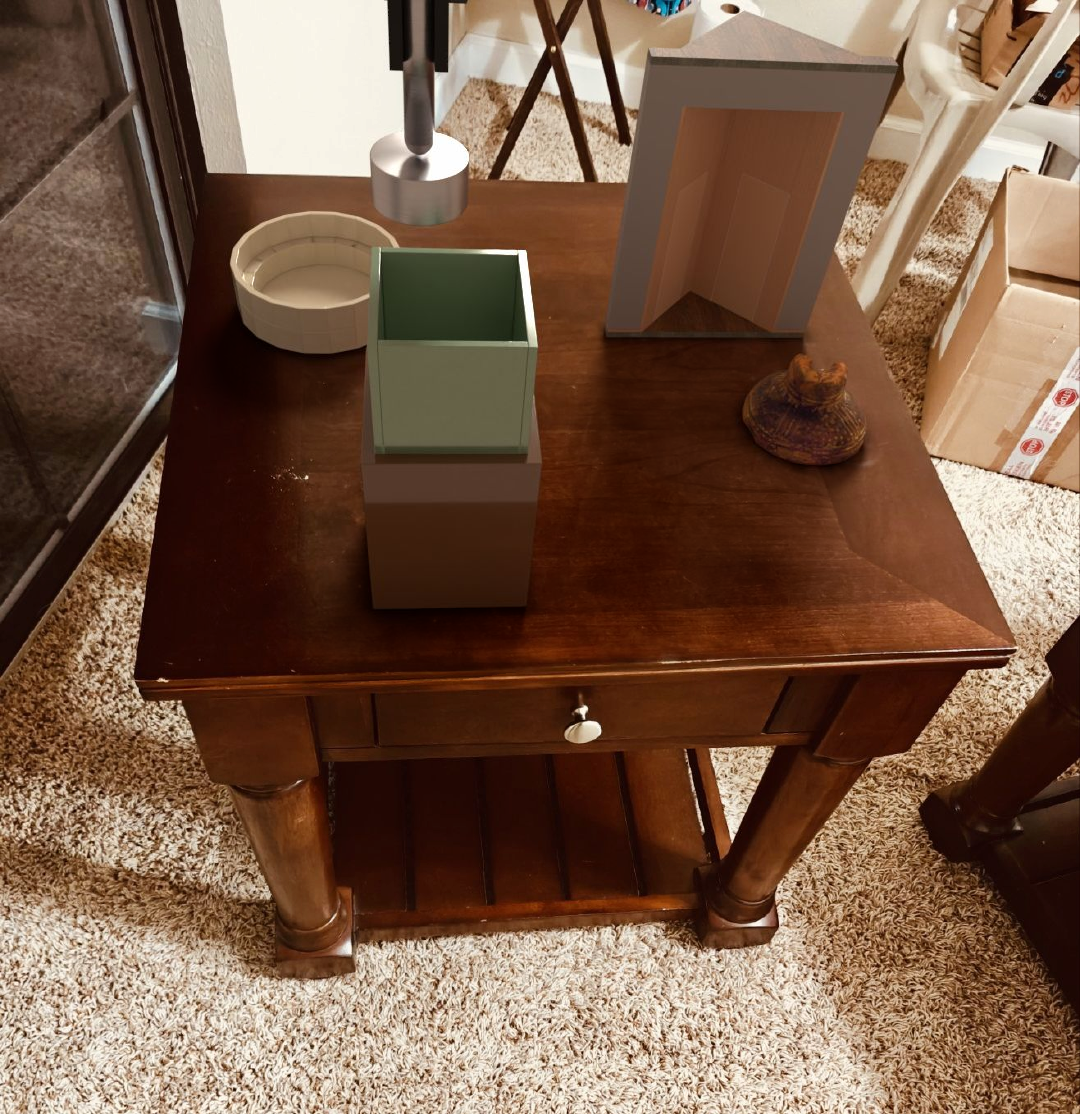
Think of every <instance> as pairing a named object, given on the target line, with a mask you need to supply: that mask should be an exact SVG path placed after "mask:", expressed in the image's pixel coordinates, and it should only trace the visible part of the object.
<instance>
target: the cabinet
mask: <svg viewBox="0 0 1080 1114" xmlns="http://www.w3.org/2000/svg"><path fill="white" fill-rule="evenodd" d="M645 60H646V61H645V67H644V73H643V79H642V84H641V93H640V99H639V104H638V110H637V111H638V112H637V117H636V124H635V130H634V138H633V142H632V150H631V155H630V161H629V168H628V175H627V181H626V187H625V193H624V199H623V207H622V212H621V219H620V224H619V226H620V227H619V232H618V237H617V244H616V251H615V257H614V264H613V268H612V269H613V270H612V276H611V283H610V288H609V296H608V301H607V309H606V314H605V315H606V316H605V320H604V327H603V328H604V332H605V336H606V338H730V339H731V338H735V339H736V338H741V339H742V338H743V339H744V338H746V339H747V338H752V339H753V338H757V339H759V338H760V339H761V338H765V339H766V338H771V339H774V338H776V339H777V338H778V339H779V338H780V339H782V338H783V339H784V338H785V339H788V338H789V339H803V338H804V336H805V333H806V330H807V328H808V325H809V323H810V319H811V317H812V314H813V311H814V308H815V306H816V302H817V299H818V296H819V294H820V291H821V289H822V286H823V283H824V279H825V277H826V274H827V272H828V269H829V265H830V263H831V260H832V257H833V254H834V251H835V248H836V245H837V244H838V243H837V242H838V239H839V237H840V234H841V231H842V228H843V226H844V224H845V220H846V217H847V214H848V211H849V208H850V205H851V203H852V199H853V197H854V194H855V192H856V189H857V185H858V183H859V179H860V177H861V175H862V171H863V169H864V166H865V162H866V160H867V158H868V155H869V151H870V148H871V145H872V143H873V139H874V137H875V135H876V131H877V129H878V125H879V123H880V120H881V117H882V114H883V111H884V109H885V107H886V106H885V105H886V102H887V99H888V97H889V94H890V91H891V89H892V86H893V83H894V81H895V80H894V79H895V77H896V74H897V71H898V68H899V64H898V62H897V61H896V60H895V58H894V57H893V56H881V55H880V56H879V55H877V56H876V55H862V54H859V53H857V52H854V51H851V50H849V49H846V48H843V47H841V46H838V45H835V44H832V43H831V42H828V41H826V40H823V39H820V38H817V37H815V36H812V35H809V34H807V33H804V32H802V31H799V30H796V29H794V28H791V27H789V26H787V25H783V24H781V23H778V22H776V21H773V20H770V19H768V18H765V17H763V16H761V15H757V14H755V13H752V12H749V11H746V10H742V11H740V12H739V13H737V14H735V15H734V16H732V17H731V18H729V19H727V20H725V21H724V22H722V23H720V24H719V25H717V26H715V27H714V28H712V29H710V30H708V31H707V32H705V33H703V34H701V35H700V36H699V37H697V38H695V39H693V40H692V41H690V42H688V43H687V44H685V45H683V46H681V47H680V48H675V47H673V48H672V47H651V46H649V47H647V54H646V59H645Z"/></svg>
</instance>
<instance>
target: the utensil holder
mask: <svg viewBox="0 0 1080 1114" xmlns="http://www.w3.org/2000/svg"><path fill="white" fill-rule="evenodd" d="M528 261H529V260H528V254H527V250H523V249H520V250H519V249H518V250H516V249H484V248H483V249H481V248H480V249H479V248H478V249H477V248H440V247H439V248H438V247H437V248H433V247H431V248H430V247H400V248H395V247H372V252H371V273H370V293H369V314H368V335H367V345H366V348H365V361H364V363H365V364H364V381H363V382H364V383H363V384H364V385H363V401H362V402H363V405H362V424H361V441H360V442H361V445H360V474H361V476H360V477H361V486H362V487H361V488H362V498H363V509H364V510H363V511H364V521H365V532H366V544H367V545H366V546H367V555H368V557H367V558H368V566H369V580H370V591H371V592H370V593H371V601H372V610H403V609H404V610H406V609H407V610H408V609H462V608H463V609H464V608H466V609H468V608H470V609H471V608H517V607H519V608H520V607H521V608H522V607H523V608H524V607H527V603H528V595H529V586H530V578H531V568H532V559H533V551H534V544H535V543H534V541H535V534H536V533H535V532H536V524H537V515H538V507H539V506H538V505H539V498H540V488H541V479H542V471H543V458H542V449H541V440H540V431H539V423H538V415H537V414H538V413H537V405H536V404H537V403H536V395H535V385H536V375H537V364H538V355H539V344H538V333H537V326H536V319H535V311H534V303H533V302H534V301H533V294H532V286H531V278H530V269H529V262H528Z"/></svg>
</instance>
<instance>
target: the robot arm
mask: <svg viewBox="0 0 1080 1114" xmlns="http://www.w3.org/2000/svg"><path fill="white" fill-rule="evenodd" d="M385 1H386V5H387V29H388V30H387V31H388V32H387V35H388V62H389V64H388V66H389V67H388V68H389V71H391V72H403V34H402V0H385ZM468 1H469V0H434V67H435V73H442V74H443V73H445V74H449V57H450V56H449V55H450V54H449V52H450V51H449V49H450V48H449V47H450V46H449V45H450V43H449V41H450V40H449V39H450V4H459V5H462V4H463V5H467V4H468Z"/></svg>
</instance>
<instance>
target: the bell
mask: <svg viewBox="0 0 1080 1114" xmlns="http://www.w3.org/2000/svg"><path fill="white" fill-rule="evenodd" d="M848 373H849V369H848V367H847V365H846V364H844V362H842V361H841V362H840V361H836V362H833V364H832V365H831V368H830V369H829V371H825V372H819V371H817V370H814V361H813V359H812V358H811V357H810V356H809V355H807V354H805V353H799V354H797V355H795V356H793V358H792V359H791V361H790V364H789V365H788V369H783V370H777V371H775V372H772V373H770V374H769V375H767V376H765V377H764V378H762V379H761V380H759V381H758V382H757V383H755V384H754V385H753V386H752V388H751V389H750V391H749V392H748V394H747V395H746V398H745V400H744V403H743V407H742V420H743V424H744V425H745V426H746V427H747V428H748V430H749V433H750V434H751V435H752V438H753V440H754V441H755V443H756V444H757V445H758V446H759V447H761V448H762V449H764V450H765V451H766V452H767V453H769V454H772V456H775V457H776V458H779V459H781V460H784V461H788V462H790V463H794V464H800V465H807V466H827V465H835V464H839V463H843V462H844V461H847V460H848V459H850V458H852V457H853V456H854V455H856V454H857V453H858V452H859V450H860V449H861V448H862V446H863V444H864V441H865V439H866V435H867V429H868V428H867V427H868V423H867V419H866V415H865V411H864V408H863V406H862V404H861V401H860V400H859V399H858V397H857V396H856V395H855V394H854V393H853V392H852V391H851V390H850V388H849V387H847V386H846V385H847V382H848V376H849V375H848Z"/></svg>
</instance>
